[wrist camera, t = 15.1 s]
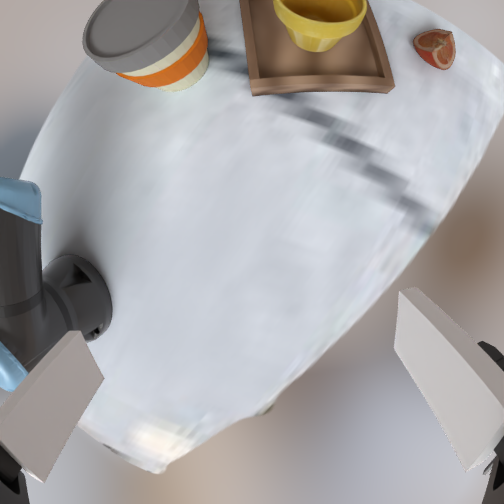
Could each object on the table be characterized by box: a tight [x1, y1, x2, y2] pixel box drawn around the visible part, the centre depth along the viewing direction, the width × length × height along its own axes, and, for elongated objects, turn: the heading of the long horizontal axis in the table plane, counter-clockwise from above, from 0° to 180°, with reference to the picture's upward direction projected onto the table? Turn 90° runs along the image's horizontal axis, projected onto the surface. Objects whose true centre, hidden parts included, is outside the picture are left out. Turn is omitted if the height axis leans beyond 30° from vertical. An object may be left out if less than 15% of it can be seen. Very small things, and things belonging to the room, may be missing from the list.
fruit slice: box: [413, 29, 456, 70], centre depth 25 cm, size 8×7×5 cm
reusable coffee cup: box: [83, 0, 209, 92], centre depth 24 cm, size 13×13×15 cm
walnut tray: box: [239, 0, 395, 96], centre depth 28 cm, size 18×18×3 cm
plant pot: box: [273, 0, 367, 52], centre depth 23 cm, size 10×10×10 cm
